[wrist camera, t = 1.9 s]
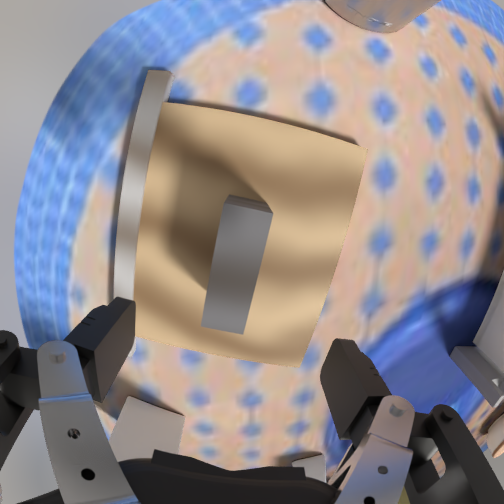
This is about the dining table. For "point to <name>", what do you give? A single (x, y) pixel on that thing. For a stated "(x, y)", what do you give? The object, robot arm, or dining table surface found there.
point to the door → (230, 227)
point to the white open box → (486, 352)
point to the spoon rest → (313, 467)
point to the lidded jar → (496, 437)
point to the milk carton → (145, 431)
